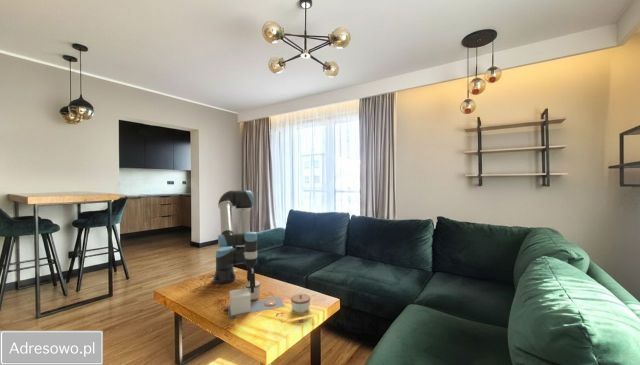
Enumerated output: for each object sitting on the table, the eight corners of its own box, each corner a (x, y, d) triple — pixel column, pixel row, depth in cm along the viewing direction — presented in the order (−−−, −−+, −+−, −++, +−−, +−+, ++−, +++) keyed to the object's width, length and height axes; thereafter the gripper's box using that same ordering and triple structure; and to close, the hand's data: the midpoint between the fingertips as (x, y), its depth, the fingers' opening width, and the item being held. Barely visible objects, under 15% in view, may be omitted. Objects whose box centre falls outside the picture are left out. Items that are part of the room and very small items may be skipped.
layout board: (227, 308, 149) (227, 305, 149) (279, 298, 161) (279, 296, 161) (229, 319, 137) (229, 316, 137) (285, 308, 149) (285, 305, 149)
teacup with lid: (263, 296, 164) (263, 278, 163) (254, 303, 155) (254, 283, 155) (247, 293, 168) (247, 275, 168) (237, 299, 159) (237, 280, 159)
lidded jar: (287, 311, 146) (287, 294, 146) (301, 304, 153) (301, 288, 153) (299, 318, 138) (299, 300, 138) (314, 311, 146) (314, 294, 145)
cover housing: (229, 306, 148) (229, 290, 148) (247, 303, 152) (247, 288, 152) (231, 315, 139) (231, 298, 139) (250, 311, 143) (250, 295, 143)
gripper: (242, 254, 169) (242, 289, 169) (247, 263, 149) (247, 303, 149) (254, 252, 172) (254, 287, 172) (260, 261, 152) (260, 300, 152)
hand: (250, 294), depth 160 cm, fingers closed on teacup with lid, 9 cm apart
